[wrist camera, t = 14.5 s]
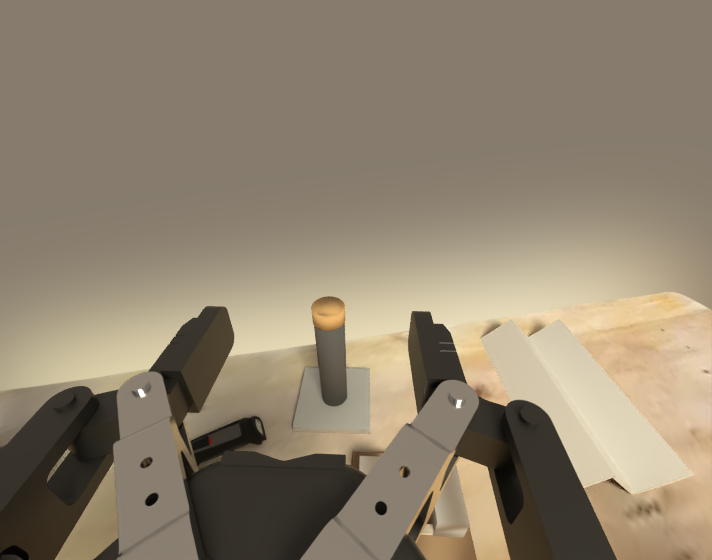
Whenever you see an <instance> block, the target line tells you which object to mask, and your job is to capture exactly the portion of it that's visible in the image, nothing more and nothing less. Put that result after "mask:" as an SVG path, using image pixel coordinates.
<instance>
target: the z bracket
mask: <svg viewBox="0 0 712 560" xmlns="http://www.w3.org/2000/svg"><path fill="white" fill-rule="evenodd" d="M480 340H481V342H482V344H483V346H484V348H485V350H486V352H487V354H488V356H489V358H490V360H491V362H492V364H493V366H494V368H495V370H496V372H497V374H498V376H499V378H500V380H501V382H502V384H503V386H504V388H505V390H506V392H507V394H508V396H509V398H510V400H511V401H514V400H526V401H529V402H532V403H534V404H536V405H538V406H539V407H541V408H542V409H543V410H544V411H545V412H546V413H547V414H548V415H549V417H550V418H551V420H552V422H553V424H554V426H555V428H556V431H557V433H558V435H559V437H560V439H561V441H562V443H563V446H564V448H565V450H566V452H567V454H568V456H569V458H570V460H571V463H572V465H573V467H574V469H575V471H576V473H577V475H578V478H579V480H580V482H581V484H582V486H583V488H585V487H588V486H591V485H594V484H597V483H599V482H602V481H605V480H608V479H611V478H613V479H614V480H616V481H617V482H618V483H619V484H620V485H621V486H622V487H623V488H625V489H626V490H627V491H628V492H629V493H630V494H631V495H636V494H639V493H643V492H646V491H649V490H652V489H655V488H658V487H661V486H664V485H667V484H670V483H673V482H676V481H679V480H682V479H685V478H689V477H692V476H695V475H694V474H693V473H692V472H691V470H690V469H689V468H688V467H687V466H686V465H685V464H684V462H683V461H682V460H681V459H680V458H679V457H678V455H677V454H676V453H675V452H674V451H673V450H672V448H671V447H670V446H669V445H668V444H667V443H666V442H665V440H664V439H663V438H662V437H661V436H660V435H659V433H658V432H657V431H656V430H655V429H654V428H653V426H652V425H651V424H650V423H649V422H648V421H647V420H646V418H645V417H644V416H643V415H642V414H641V413H640V411H639V410H638V409H637V408H636V407H635V406H634V404H633V403H632V402H631V401H630V400H629V399H628V398H627V396H626V395H625V394H624V393H623V392H622V391H621V389H620V388H619V387H618V386H617V385H616V384H615V382H614V381H613V380H612V379H611V378H610V377H609V376H608V374H607V373H606V372H605V371H604V370H603V369H602V367H601V366H600V365H599V364H598V363H597V362H596V360H595V359H594V358H593V357H592V356H591V355H590V354H589V352H588V351H587V350H586V349H585V348H584V347H583V345H582V344H581V343H580V342H579V341H578V340H577V338H576V337H575V336H574V335H573V334H572V333H571V332H570V330H569V329H568V328H567V327H566V326H565V325H564V323H563V322H562V321H561V320H560V319H559V320H557V321H555V322H553V323H552V324H550V325H548V326H546V327H545V328H543V329H541V330H540V331H538V332H536V333H534V334H533V335H531V336H529V337H528V336H527V335H526V334H525V333H524V332H523V331H522V330H521V329H520V328H519V327H518V326H517V325H516V324H515V323H514V322H513V320H512V319H511V320H509V321H508V322H506V323H504V324H503V325H501V326H500V327H498V328H496V329H495V330H493V331H491V332H490V333H488V334H487V335H485V336H483V337H482V338H480Z"/></svg>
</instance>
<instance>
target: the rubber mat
mask: <svg viewBox="0 0 712 560" xmlns="http://www.w3.org/2000/svg"><path fill="white" fill-rule="evenodd" d="M346 375H347V399H346V401H345V402H344V403H343V404H341V405H339V406H334V407H333V406H328V405H327V404H325V403H324V401H323V399H322V393H321V383H320V374H319V367H305V371H304V376H303V381H302V385H301V390H300V394H299V399H298V404H297V408H296V413H295V418H294V422H293V431H302V432H333V433H364V434H370V385H369V369H365V368H346Z"/></svg>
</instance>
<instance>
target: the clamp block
mask: <svg viewBox="0 0 712 560" xmlns="http://www.w3.org/2000/svg"><path fill="white" fill-rule="evenodd" d="M382 454H383V453H365V452H353V467H354V468H356V469H358V470H360V471H361V472H363V473H364V474H366V475H368V473H369V472H370V471H371V469H372V468H373V467H374V465H375V464H376V462H377V461H378V460H379V458H380V457H381V456H382ZM469 525H470V524H469V520H468V515H467V511H466V507H465V502H464V498H463V493H462V489H461V484H460V480H459V476H458V471H457V467H456V465H455V467H454V469H453V471H452V473H451V475H450V477H449V479H448V481H447V483H446V484H445V486H444V488H443V490H442V492H441V494H440V496H439V498H438V500H437V502H436V505H435V507H434V509H433V512H432V514H431V516H430V518H429V520H428V522H427V524H426V526H425V528H424V530H423V532H422V533H421V535H420V537H419V539H418V541H417V543H416V544H417V546H418V547H419V549H420V550H421V552H422V553H423V555H424V556H425V558H426V559H427V560H477V559H476V554H475V550H474V545H473V541H472V536H471V532H470V528H469Z"/></svg>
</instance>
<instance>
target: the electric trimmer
mask: <svg viewBox="0 0 712 560" xmlns="http://www.w3.org/2000/svg"><path fill="white" fill-rule="evenodd" d="M264 440H266V435H265V431H264V428H263V424H262V421H261V419H260V418H259V417H256V416H253V417H251V418H243V419H241V420H238V421H235V422H233V423H231V424H228V425H226V426H224V427H221V428H219V429H217V430H214V431H212V432H210V433H207V434H205V435H203V436H200V437H198V438H196V439H194V440H192V441H190V442H191V446H192V449H193V453H194V457H195V460H196V463H197V466H198V465H199V464H200V463H202V462H204V461H207V460H209V459H212V458H214V457H217V456H219V455H222V454H224V452H225V451H232V450H234V449H237V448H239V447H241V446H244V445H246V444H249V443H251V444H256V445H259V444H261V443H262V441H264Z"/></svg>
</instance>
